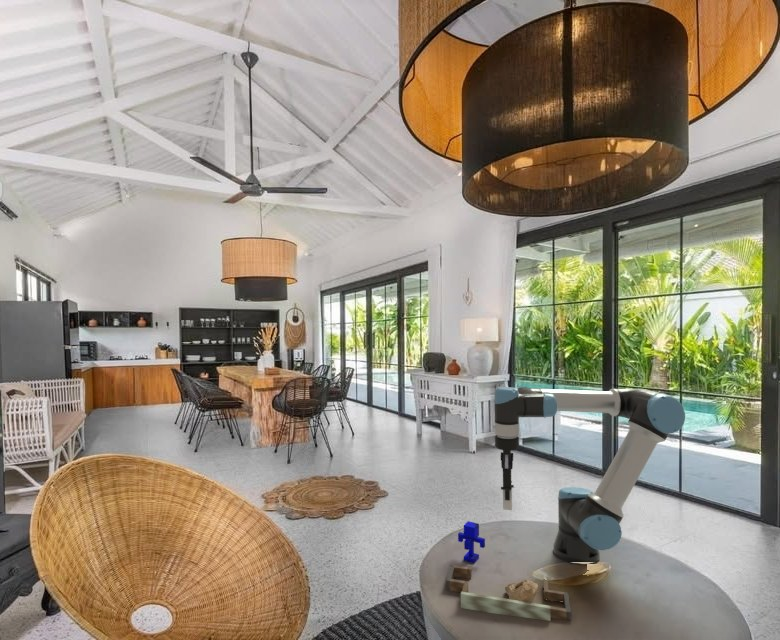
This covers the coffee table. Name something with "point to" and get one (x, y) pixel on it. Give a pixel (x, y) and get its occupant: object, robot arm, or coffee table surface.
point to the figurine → (471, 540)
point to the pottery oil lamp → (522, 591)
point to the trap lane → (503, 604)
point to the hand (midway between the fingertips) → (507, 508)
